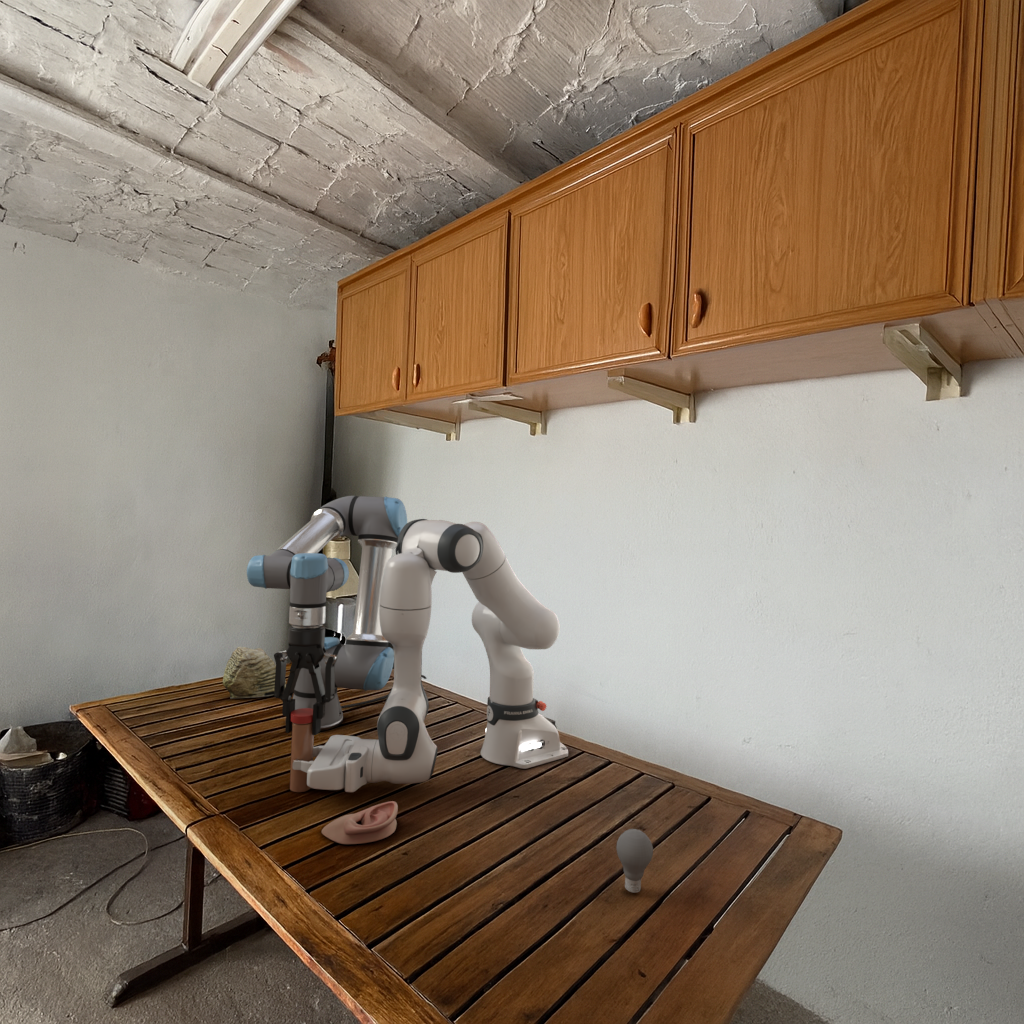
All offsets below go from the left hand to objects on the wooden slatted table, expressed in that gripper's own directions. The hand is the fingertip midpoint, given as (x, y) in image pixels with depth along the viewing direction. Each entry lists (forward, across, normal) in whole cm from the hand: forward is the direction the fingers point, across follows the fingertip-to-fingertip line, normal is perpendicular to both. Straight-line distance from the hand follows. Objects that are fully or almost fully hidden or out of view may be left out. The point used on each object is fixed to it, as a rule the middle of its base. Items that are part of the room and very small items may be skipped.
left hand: (303, 731), depth 137 cm
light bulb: (+12, +69, -25) cm, 74 cm away
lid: (-4, 0, 0) cm, 4 cm away
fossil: (+12, -41, +57) cm, 71 cm away
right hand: (+6, -1, 0) cm, 6 cm away
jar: (+12, 0, 0) cm, 12 cm away
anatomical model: (+12, +18, -15) cm, 27 cm away
